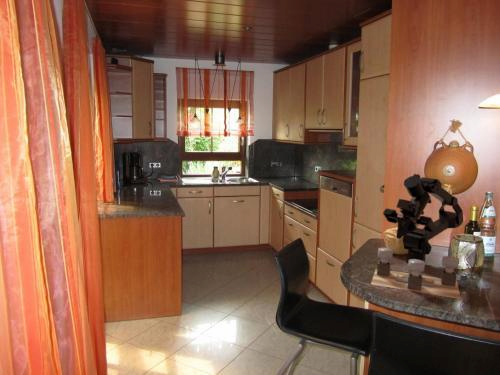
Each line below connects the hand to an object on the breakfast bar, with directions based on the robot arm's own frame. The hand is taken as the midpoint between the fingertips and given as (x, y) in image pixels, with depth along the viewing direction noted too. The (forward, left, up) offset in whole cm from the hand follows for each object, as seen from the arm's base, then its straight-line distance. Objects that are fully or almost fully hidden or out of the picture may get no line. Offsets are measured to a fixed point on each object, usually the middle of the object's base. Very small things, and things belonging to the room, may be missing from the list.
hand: (397, 237), depth 154 cm
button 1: (+7, +2, -9) cm, 11 cm away
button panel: (+3, +12, -14) cm, 18 cm away
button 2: (-7, +17, -9) cm, 20 cm away
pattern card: (+2, +11, -12) cm, 17 cm away
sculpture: (-21, -19, -14) cm, 31 cm away
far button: (+6, +15, -9) cm, 19 cm away
